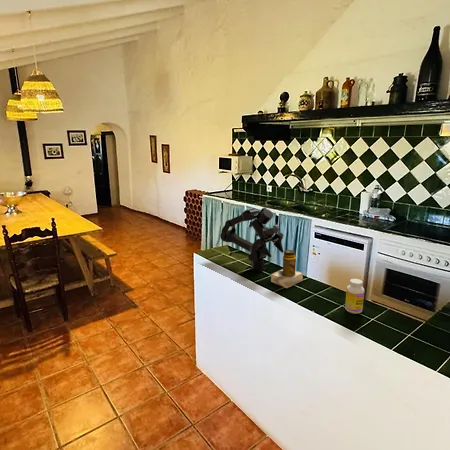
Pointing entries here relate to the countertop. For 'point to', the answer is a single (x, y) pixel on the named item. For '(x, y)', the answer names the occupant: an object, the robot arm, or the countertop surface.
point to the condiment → (288, 264)
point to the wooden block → (286, 279)
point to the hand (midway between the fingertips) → (276, 254)
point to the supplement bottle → (354, 296)
